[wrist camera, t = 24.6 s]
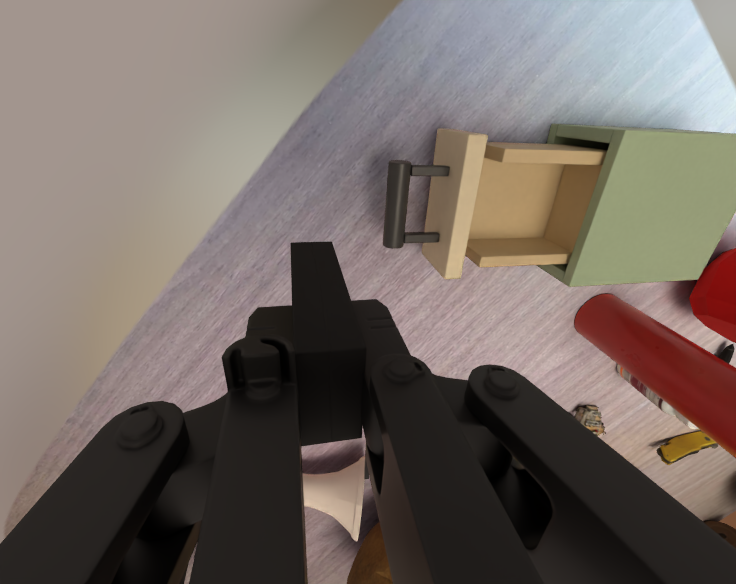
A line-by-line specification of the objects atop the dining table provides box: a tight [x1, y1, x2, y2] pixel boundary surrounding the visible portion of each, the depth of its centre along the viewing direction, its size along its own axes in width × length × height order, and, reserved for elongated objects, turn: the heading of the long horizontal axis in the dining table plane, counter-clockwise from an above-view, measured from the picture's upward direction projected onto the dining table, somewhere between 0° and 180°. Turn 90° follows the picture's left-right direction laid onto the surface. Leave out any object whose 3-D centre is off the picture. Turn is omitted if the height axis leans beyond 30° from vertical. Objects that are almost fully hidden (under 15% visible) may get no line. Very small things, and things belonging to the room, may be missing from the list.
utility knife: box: [657, 431, 719, 465], centre depth 51 cm, size 16×1×3 cm, turn 94°
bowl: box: [347, 522, 393, 584], centre depth 41 cm, size 19×19×15 cm
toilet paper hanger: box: [303, 456, 365, 542], centre depth 33 cm, size 23×10×8 cm, turn 173°
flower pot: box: [704, 521, 736, 548], centre depth 68 cm, size 12×11×10 cm
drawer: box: [383, 128, 608, 279], centre depth 24 cm, size 14×9×5 cm, turn 87°
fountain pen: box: [718, 344, 734, 364], centre depth 46 cm, size 14×1×2 cm
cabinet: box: [537, 124, 736, 287], centre depth 26 cm, size 12×10×7 cm
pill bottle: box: [617, 364, 699, 429], centre depth 37 cm, size 5×5×8 cm
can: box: [574, 294, 736, 458], centre depth 29 cm, size 5×5×17 cm
